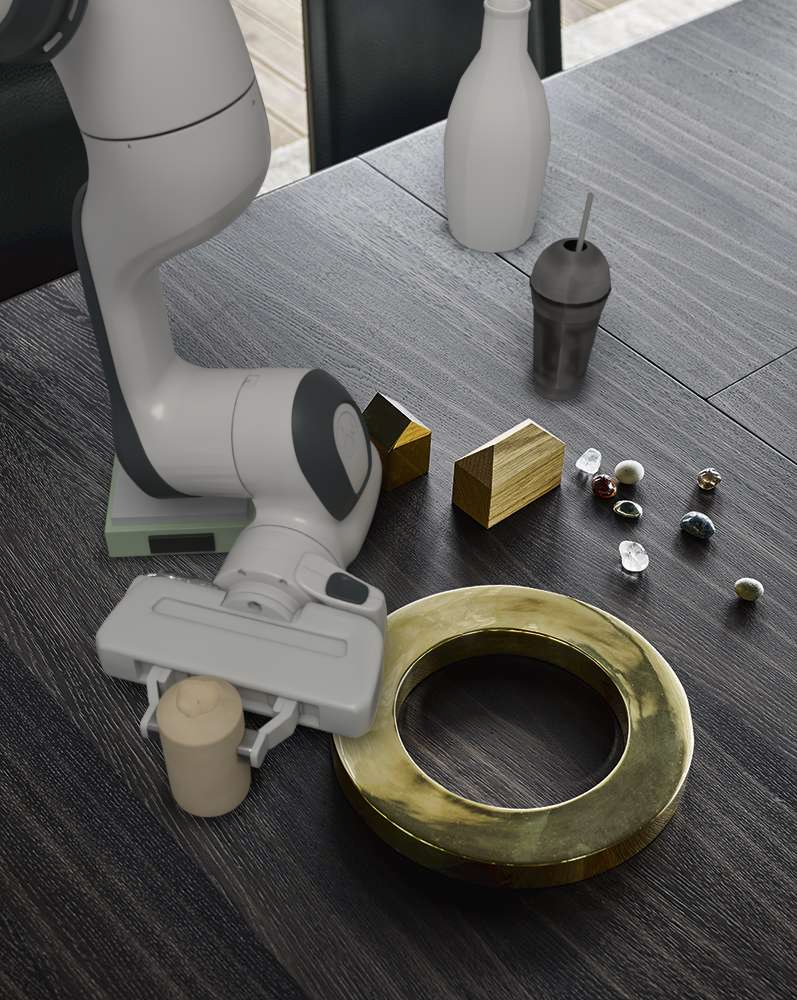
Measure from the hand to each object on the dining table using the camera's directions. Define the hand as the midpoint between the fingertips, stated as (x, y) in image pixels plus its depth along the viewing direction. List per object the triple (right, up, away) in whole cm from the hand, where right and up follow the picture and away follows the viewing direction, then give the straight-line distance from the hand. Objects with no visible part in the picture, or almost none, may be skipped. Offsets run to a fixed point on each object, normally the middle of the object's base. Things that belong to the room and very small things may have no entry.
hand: (199, 747), depth 82 cm
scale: (-5, +16, +24) cm, 29 cm away
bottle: (+23, +45, +56) cm, 76 cm away
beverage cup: (+28, +27, +37) cm, 53 cm away
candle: (0, -4, +5) cm, 6 cm away
